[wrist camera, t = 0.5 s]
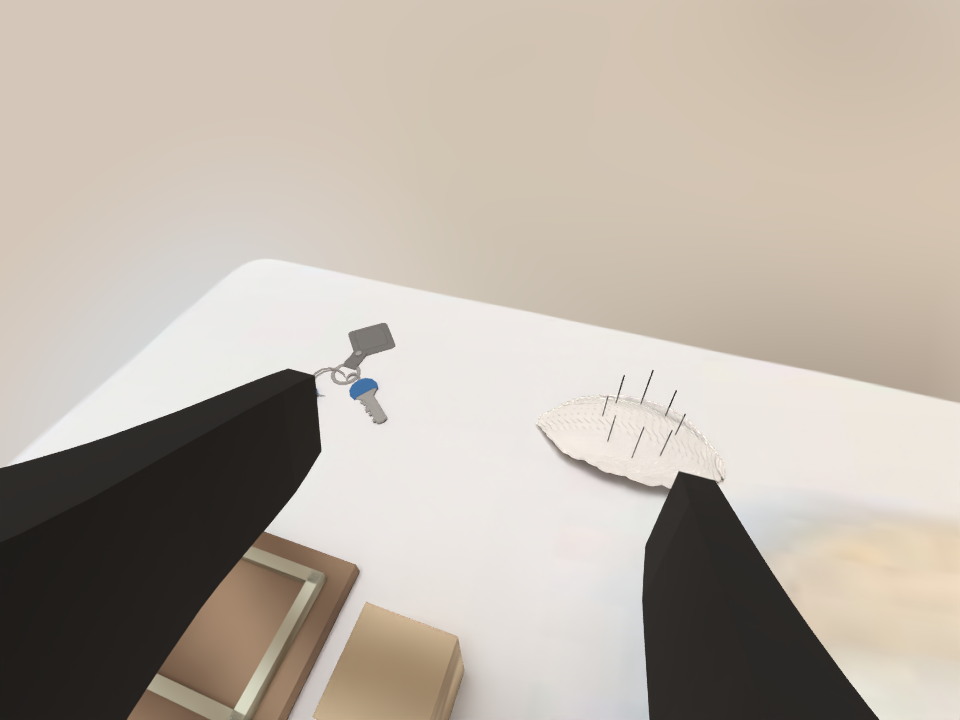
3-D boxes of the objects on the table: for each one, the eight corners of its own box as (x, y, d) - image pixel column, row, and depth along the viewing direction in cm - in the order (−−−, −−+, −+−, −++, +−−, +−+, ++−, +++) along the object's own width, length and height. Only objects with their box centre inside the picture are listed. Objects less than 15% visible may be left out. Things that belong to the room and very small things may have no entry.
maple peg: (432, 774, 20) (415, 763, 16) (349, 736, 21) (312, 716, 17) (464, 670, 23) (457, 636, 19) (388, 640, 24) (365, 601, 20)
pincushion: (524, 462, 31) (529, 408, 27) (548, 393, 35) (556, 336, 31) (722, 521, 28) (762, 471, 24) (724, 439, 32) (758, 383, 28)
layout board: (125, 1045, 16) (-49, 1155, 11) (-114, 874, 19) (-341, 897, 14) (359, 571, 26) (327, 513, 21) (183, 507, 29) (118, 442, 24)
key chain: (368, 319, 41) (367, 312, 41) (449, 353, 38) (448, 346, 38) (238, 437, 33) (234, 430, 32) (328, 492, 30) (325, 485, 29)
